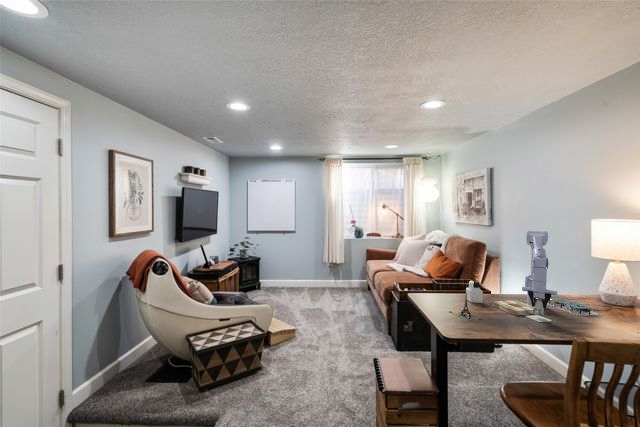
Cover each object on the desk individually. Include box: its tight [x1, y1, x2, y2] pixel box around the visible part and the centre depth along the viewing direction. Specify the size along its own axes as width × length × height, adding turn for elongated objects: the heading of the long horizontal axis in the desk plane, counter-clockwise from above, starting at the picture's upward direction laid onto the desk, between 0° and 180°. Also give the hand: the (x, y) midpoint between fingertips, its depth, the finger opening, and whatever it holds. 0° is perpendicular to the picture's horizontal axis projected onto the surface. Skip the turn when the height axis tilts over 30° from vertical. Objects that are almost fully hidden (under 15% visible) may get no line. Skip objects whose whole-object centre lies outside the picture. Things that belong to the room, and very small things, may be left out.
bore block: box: [491, 299, 535, 316], centre depth 167 cm, size 16×16×2 cm
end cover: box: [533, 297, 545, 316], centre depth 154 cm, size 4×4×8 cm
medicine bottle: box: [465, 280, 484, 304], centre depth 182 cm, size 7×7×12 cm
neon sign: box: [547, 297, 611, 317], centre depth 172 cm, size 21×4×29 cm
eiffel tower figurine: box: [447, 292, 472, 320], centre depth 157 cm, size 15×10×13 cm
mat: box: [524, 314, 553, 323], centre depth 154 cm, size 8×8×1 cm
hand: (538, 307), depth 153 cm, fingers closed on end cover, 4 cm apart
